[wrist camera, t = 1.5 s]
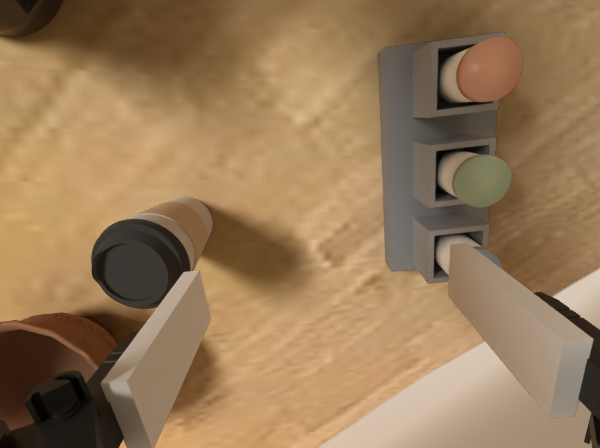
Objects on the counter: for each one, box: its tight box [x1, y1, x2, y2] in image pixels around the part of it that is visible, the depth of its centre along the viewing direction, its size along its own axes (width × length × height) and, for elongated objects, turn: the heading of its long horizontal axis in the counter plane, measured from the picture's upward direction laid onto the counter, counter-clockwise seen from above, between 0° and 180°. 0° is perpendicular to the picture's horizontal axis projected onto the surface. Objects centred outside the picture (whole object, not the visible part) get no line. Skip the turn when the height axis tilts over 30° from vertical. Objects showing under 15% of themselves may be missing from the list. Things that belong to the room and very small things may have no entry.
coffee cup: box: [91, 197, 213, 309], centre depth 35 cm, size 9×9×15 cm
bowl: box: [0, 313, 117, 431], centre depth 43 cm, size 22×22×11 cm
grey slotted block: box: [378, 32, 505, 284], centre depth 35 cm, size 26×12×8 cm, turn 7°
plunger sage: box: [435, 150, 512, 208], centre depth 30 cm, size 5×5×6 cm
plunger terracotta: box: [437, 37, 523, 103], centre depth 28 cm, size 5×5×6 cm
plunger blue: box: [434, 233, 502, 275], centre depth 33 cm, size 5×5×6 cm
